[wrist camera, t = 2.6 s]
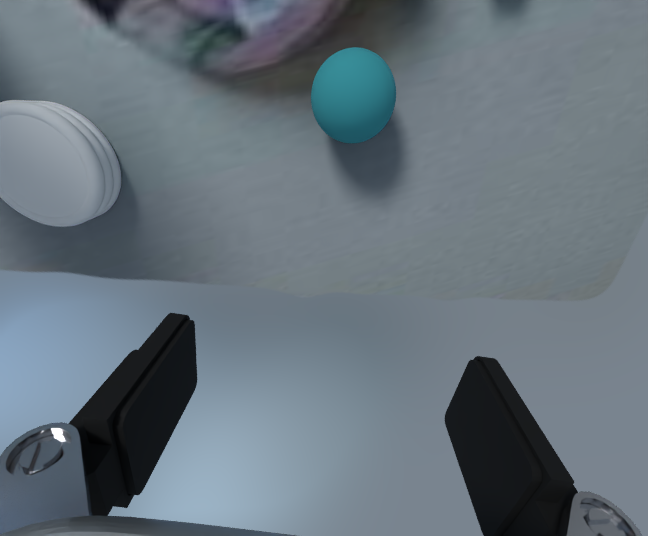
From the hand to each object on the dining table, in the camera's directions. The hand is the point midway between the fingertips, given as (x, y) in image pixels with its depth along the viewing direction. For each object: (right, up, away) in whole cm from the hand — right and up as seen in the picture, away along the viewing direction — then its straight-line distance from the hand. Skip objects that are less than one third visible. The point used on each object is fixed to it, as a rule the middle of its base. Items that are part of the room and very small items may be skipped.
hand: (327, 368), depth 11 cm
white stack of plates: (-23, +13, +18) cm, 32 cm away
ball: (+2, +16, +12) cm, 20 cm away
